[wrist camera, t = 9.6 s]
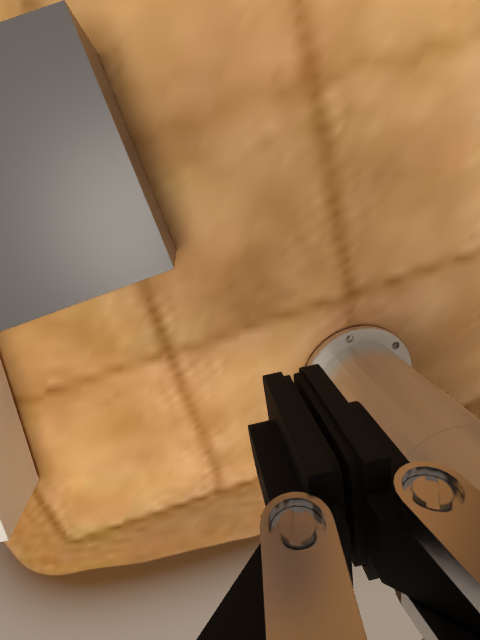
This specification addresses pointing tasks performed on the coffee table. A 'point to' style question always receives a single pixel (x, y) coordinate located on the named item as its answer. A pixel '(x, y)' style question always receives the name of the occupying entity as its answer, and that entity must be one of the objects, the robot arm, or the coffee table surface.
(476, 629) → the robot arm
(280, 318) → the coffee table surface
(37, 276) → the gray cabinet
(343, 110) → the coffee table surface
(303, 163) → the coffee table surface
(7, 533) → the side door
